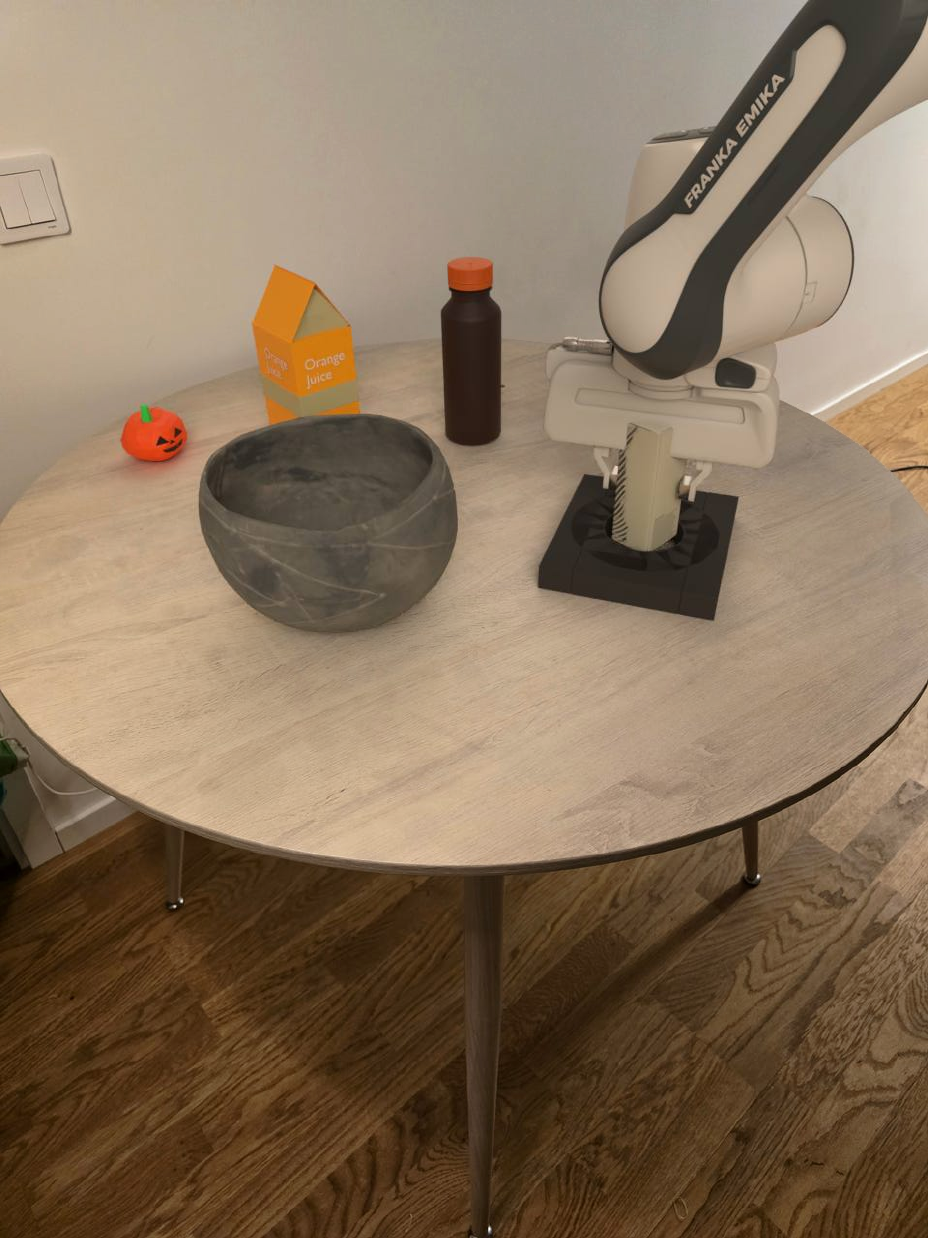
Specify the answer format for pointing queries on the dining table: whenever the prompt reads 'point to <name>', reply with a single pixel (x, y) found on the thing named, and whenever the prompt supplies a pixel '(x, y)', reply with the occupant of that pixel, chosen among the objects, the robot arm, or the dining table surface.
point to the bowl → (330, 519)
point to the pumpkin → (153, 434)
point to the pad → (641, 555)
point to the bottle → (471, 354)
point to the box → (647, 488)
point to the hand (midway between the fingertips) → (649, 492)
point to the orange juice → (303, 351)
